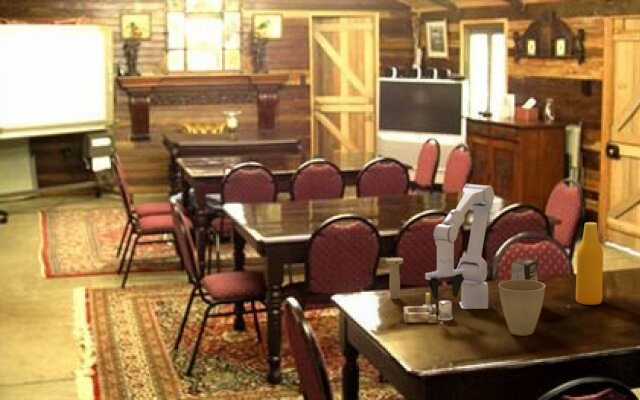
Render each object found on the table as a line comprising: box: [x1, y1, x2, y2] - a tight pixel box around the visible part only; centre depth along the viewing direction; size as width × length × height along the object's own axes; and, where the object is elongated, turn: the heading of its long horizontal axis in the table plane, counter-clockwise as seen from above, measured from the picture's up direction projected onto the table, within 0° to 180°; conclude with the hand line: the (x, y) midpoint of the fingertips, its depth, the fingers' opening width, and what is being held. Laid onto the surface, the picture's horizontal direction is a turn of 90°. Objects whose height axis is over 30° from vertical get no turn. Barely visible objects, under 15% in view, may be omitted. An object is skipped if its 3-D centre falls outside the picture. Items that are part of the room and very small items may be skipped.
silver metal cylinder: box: [437, 299, 454, 322], centre depth 322 cm, size 5×5×6 cm
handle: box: [385, 257, 404, 300], centre depth 348 cm, size 5×6×15 cm
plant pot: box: [498, 279, 546, 336], centre depth 304 cm, size 15×15×16 cm
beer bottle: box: [575, 221, 604, 306], centre depth 337 cm, size 9×9×29 cm
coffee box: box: [510, 258, 538, 281], centre depth 336 cm, size 9×6×16 cm
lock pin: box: [425, 292, 433, 315], centre depth 331 cm, size 1×11×5 cm, turn 179°
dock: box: [403, 303, 437, 324], centre depth 325 cm, size 11×14×3 cm
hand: (445, 297), depth 321 cm, fingers open, 7 cm apart
